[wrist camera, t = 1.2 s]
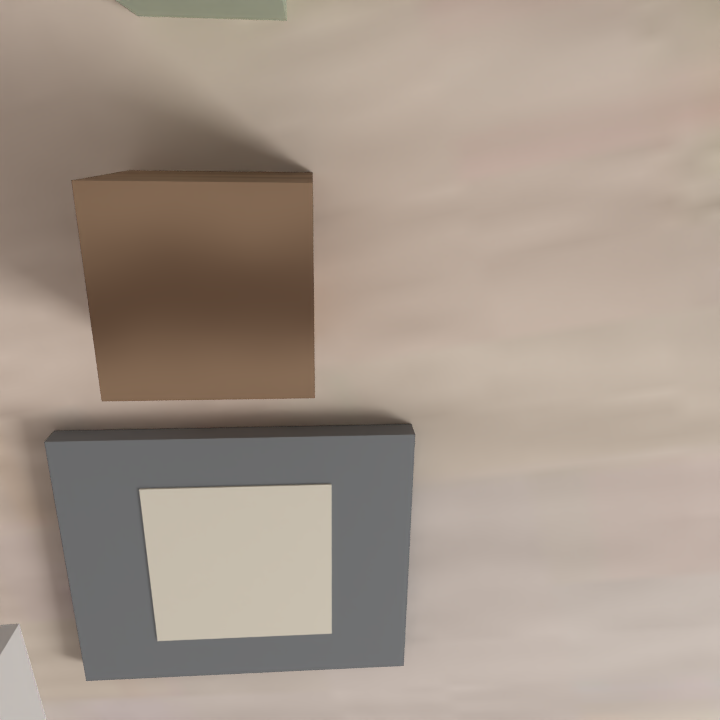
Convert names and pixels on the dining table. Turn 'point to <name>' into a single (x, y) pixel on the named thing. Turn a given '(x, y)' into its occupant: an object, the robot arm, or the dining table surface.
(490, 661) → the dining table surface
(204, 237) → the walnut block
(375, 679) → the dining table surface
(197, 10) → the sage brick
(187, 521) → the grey flat slab
